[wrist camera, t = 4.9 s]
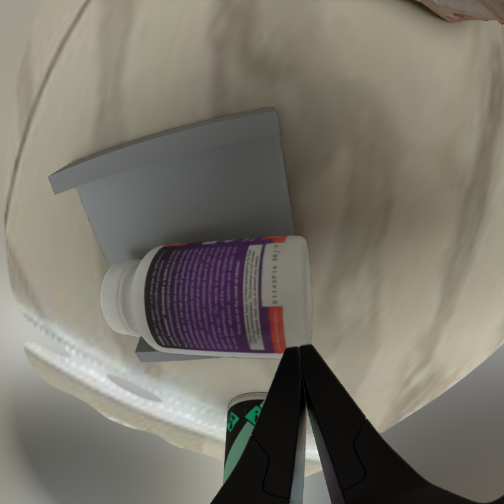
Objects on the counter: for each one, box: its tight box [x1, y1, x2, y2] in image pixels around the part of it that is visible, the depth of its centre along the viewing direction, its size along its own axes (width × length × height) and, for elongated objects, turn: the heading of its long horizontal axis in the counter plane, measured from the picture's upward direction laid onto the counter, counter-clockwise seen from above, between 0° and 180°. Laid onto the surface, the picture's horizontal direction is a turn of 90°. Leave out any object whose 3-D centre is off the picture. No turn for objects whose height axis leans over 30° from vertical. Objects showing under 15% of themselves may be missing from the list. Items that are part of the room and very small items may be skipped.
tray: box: [48, 107, 295, 362], centre depth 16 cm, size 11×13×2 cm
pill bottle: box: [101, 236, 312, 359], centre depth 14 cm, size 5×5×10 cm
